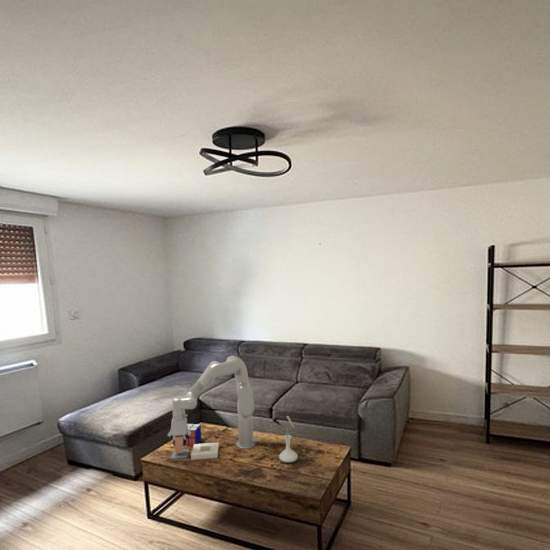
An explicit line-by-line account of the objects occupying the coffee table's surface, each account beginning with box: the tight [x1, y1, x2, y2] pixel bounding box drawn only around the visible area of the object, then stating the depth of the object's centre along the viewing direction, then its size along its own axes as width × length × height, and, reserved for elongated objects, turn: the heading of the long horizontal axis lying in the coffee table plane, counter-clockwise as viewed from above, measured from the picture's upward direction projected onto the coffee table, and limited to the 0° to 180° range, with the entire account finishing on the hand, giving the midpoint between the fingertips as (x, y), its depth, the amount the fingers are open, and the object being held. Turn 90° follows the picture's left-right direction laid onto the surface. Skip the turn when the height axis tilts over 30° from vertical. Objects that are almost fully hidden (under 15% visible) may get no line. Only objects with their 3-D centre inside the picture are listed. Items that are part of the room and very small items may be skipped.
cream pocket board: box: [190, 441, 220, 461], centre depth 222 cm, size 16×14×3 cm
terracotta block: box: [174, 435, 185, 454], centre depth 222 cm, size 5×5×10 cm
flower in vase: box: [278, 415, 299, 463], centre depth 213 cm, size 13×11×25 cm
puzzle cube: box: [185, 423, 202, 446], centre depth 239 cm, size 10×10×10 cm
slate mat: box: [170, 448, 190, 460], centre depth 222 cm, size 10×10×1 cm
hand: (179, 445), depth 222 cm, fingers closed on terracotta block, 5 cm apart
